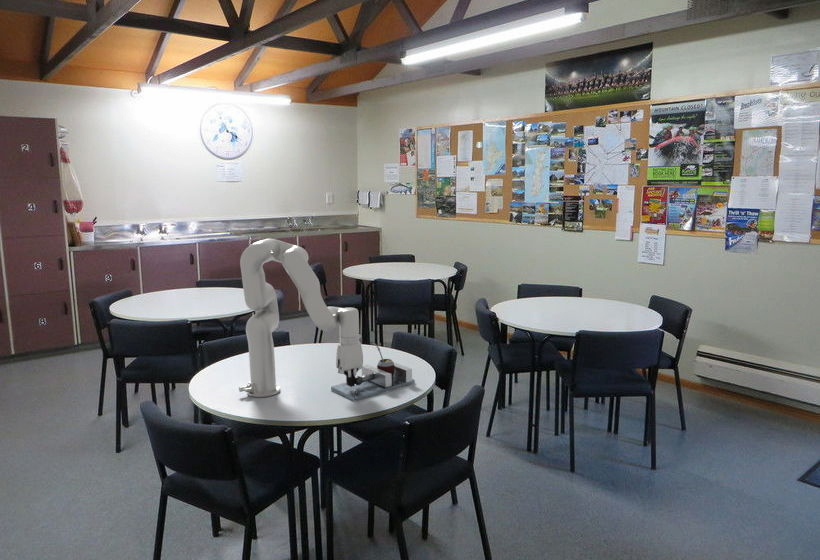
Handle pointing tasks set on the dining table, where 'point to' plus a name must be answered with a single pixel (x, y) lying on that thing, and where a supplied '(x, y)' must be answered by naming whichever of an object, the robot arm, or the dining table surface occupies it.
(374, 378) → the vise jaw
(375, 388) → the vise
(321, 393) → the dining table surface
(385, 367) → the mate gourd
